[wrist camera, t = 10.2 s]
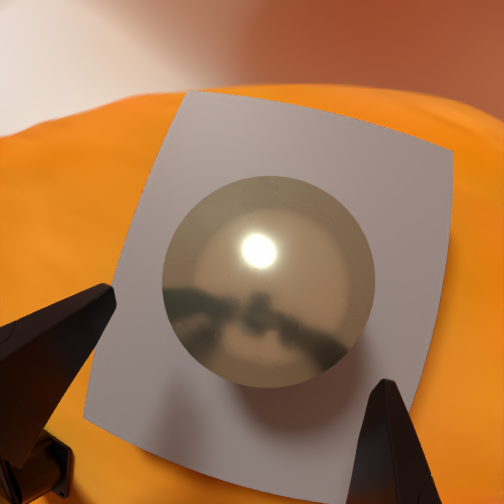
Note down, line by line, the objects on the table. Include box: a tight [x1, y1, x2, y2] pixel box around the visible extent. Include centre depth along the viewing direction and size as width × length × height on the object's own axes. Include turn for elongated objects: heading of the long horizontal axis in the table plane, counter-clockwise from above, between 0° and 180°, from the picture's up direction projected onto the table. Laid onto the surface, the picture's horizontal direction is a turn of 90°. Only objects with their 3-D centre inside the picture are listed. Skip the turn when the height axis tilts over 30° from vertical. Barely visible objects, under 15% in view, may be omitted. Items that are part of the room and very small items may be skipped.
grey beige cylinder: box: [162, 176, 375, 388], centre depth 14 cm, size 6×6×9 cm
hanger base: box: [83, 90, 453, 504], centre depth 17 cm, size 20×16×5 cm
